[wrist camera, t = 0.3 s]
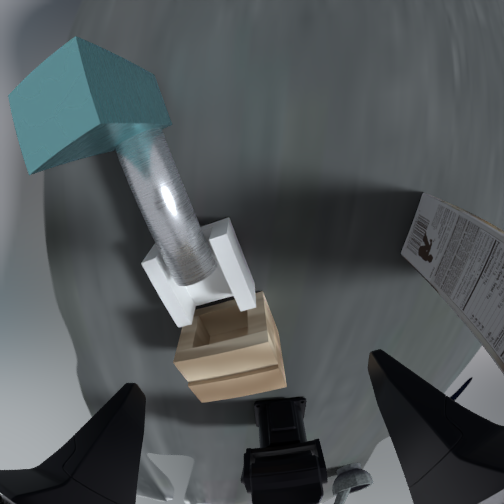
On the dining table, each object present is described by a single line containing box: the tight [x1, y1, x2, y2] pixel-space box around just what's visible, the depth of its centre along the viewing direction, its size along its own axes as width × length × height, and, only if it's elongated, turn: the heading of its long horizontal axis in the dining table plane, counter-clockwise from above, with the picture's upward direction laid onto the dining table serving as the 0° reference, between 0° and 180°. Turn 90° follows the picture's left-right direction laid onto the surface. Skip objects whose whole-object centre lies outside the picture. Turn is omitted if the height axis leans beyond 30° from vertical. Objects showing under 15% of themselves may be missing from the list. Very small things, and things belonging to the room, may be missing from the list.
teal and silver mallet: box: [8, 36, 217, 286], centre depth 13 cm, size 14×4×10 cm, turn 18°
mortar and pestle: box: [333, 463, 373, 504], centre depth 41 cm, size 11×9×12 cm
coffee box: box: [401, 193, 504, 374], centre depth 14 cm, size 9×6×16 cm
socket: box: [173, 291, 287, 403], centre depth 21 cm, size 5×7×7 cm
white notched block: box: [141, 217, 256, 328], centre depth 20 cm, size 6×6×3 cm
